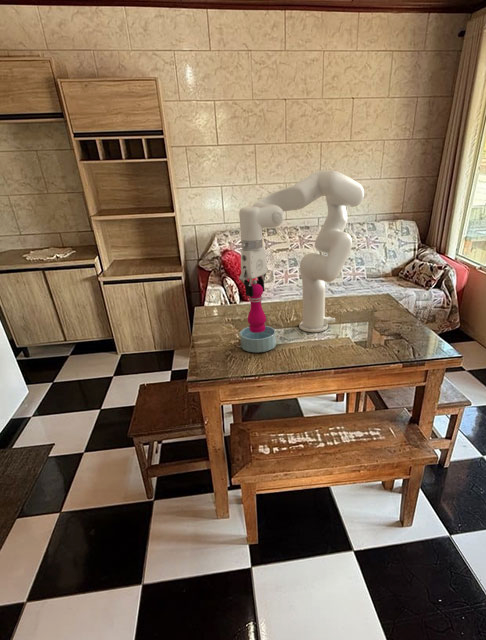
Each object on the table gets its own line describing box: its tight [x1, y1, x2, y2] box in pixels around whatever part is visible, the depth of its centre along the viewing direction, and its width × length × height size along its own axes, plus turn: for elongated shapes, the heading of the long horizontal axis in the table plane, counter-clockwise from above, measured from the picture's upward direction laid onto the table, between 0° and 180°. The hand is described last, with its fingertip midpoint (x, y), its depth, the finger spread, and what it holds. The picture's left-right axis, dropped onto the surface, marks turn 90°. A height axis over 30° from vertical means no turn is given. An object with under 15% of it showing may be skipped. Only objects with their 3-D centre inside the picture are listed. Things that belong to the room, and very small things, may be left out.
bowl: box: [239, 325, 277, 354], centre depth 163 cm, size 14×14×6 cm
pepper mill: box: [247, 279, 267, 333], centre depth 156 cm, size 7×7×20 cm
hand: (255, 293), depth 153 cm, fingers closed on pepper mill, 6 cm apart
